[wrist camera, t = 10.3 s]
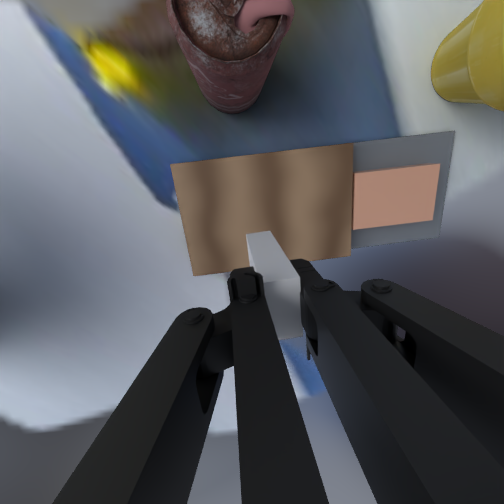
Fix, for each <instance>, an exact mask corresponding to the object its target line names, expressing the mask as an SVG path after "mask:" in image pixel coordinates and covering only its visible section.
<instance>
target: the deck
mask: <svg viewBox="0 0 504 504" xmlns="http://www.w3.org/2000/svg"><path fill="white" fill-rule="evenodd" d="M170 166H171V171H172V176H173V181H174V185H175V190H176V195H177V200H178V204H179V209H180V214H181V219H182V223H183V228H184V233H185V238H186V242H187V247H188V252H189V257H190V261H191V266H192V271H193V276H199V275H207V274H215V273H223V272H230V271H233V270H234V269H238V268H244V267H250V263H249V255H248V247H247V239H246V234H250V233H257V232H264V231H271V233H272V234H273V236H274V238H275V239H276V241H277V242H278V244H279V245H280V247H281V248H282V250H283V252H284V253H285V255H286V256H287V258H288V259H289V260H294V259H301V258H302V259H304V260H307V261H315V260H323V259H330V258H338V257H346V256H351V223H352V182H353V143H346V144H338V145H329V146H321V147H312V148H304V149H295V150H287V151H278V152H270V153H262V154H253V155H245V156H236V157H228V158H219V159H211V160H202V161H194V162H185V163H177V164H170Z"/></svg>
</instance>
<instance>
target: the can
mask: <svg viewBox="0 0 504 504" xmlns="http://www.w3.org/2000/svg"><path fill="white" fill-rule="evenodd" d="M166 4H167V12H168V19H169V21H170V23H171V26H172V28H173V31H174V33H175V36H176V38H177V41H178V43H179V45H180V47H181V49H182V51H183V53H184V55H185V58H186V60H187V62H188V64H189V66H190V68H191V70H192V72H193V74H194V76H195V79H196V81H197V83H198V85H199V87H200V89H201V91H202V93H203V95H204V97H205V98H206V100H207V101H208V102H209V103H210V105H212V106H213V107H214V108H216V109H217V110H219V111H221V112H225V113H228V114H233V113H240V112H242V111H245V110H247V109H248V108H249V107H251V106H252V105H253V104H254V103H255V101H256V100H257V98H258V96H259V94H260V93H261V90H262V88H263V85H264V83H265V80H266V78H267V76H268V73H269V71H270V68H271V66H272V63H273V61H274V58H275V56H276V54H277V51H278V49H279V46H280V44H281V41H282V39H283V37H284V36H285V35H286V33H287V32H288V30H289V29H290V26H291V22H292V19H293V16H294V12H295V11H294V7H293V4H292V2H291V0H166Z"/></svg>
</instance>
